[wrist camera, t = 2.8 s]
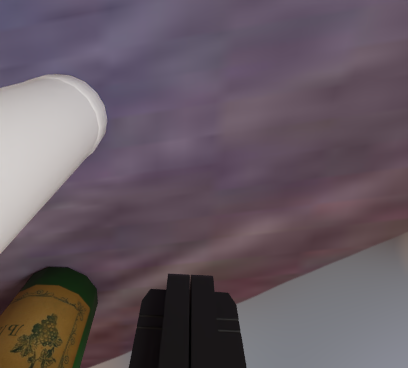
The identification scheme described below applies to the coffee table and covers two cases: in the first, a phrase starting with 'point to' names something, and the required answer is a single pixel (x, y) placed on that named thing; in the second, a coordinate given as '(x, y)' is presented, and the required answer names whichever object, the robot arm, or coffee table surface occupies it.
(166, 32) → the coffee table surface
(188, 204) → the coffee table surface
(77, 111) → the bottle
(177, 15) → the coffee table surface
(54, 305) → the bottle
